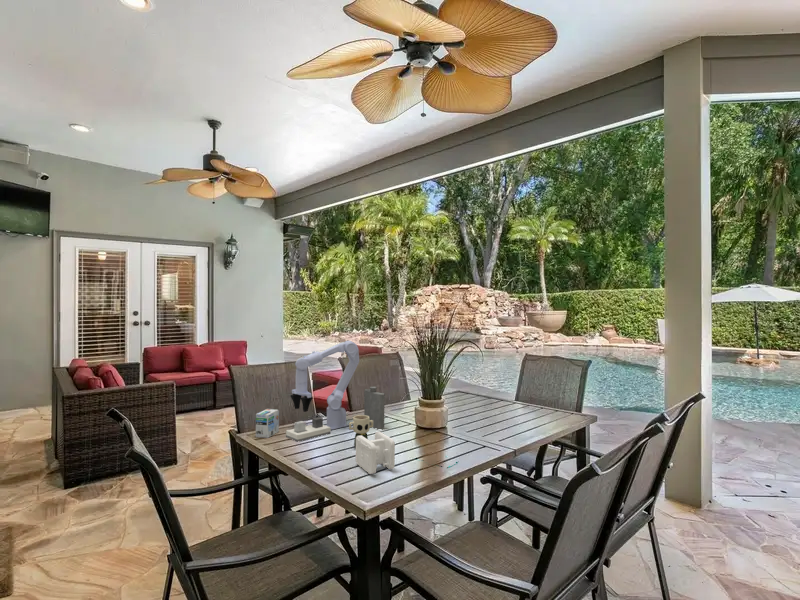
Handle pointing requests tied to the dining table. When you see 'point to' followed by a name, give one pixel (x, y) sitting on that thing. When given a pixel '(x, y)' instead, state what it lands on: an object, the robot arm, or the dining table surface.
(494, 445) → the dining table surface
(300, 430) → the plug
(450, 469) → the dining table surface
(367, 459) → the cable organizer
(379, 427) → the hip flask
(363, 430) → the character mug
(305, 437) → the power strip
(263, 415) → the light bulb box
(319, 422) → the twin plug
